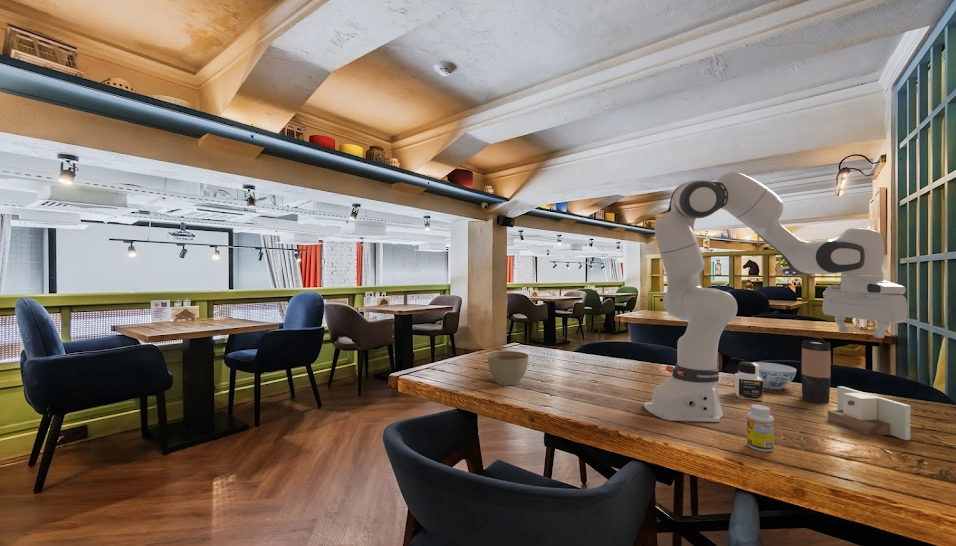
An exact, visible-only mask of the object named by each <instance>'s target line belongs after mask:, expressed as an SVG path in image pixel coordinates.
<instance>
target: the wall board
mask: <svg viewBox="0 0 956 546" xmlns="http://www.w3.org/2000/svg"><path fill="white" fill-rule="evenodd" d="M836 388H837V389H836V390H837V391H836V392H837V393H836V394H837V395H836V396H837V400H836V405H837V406H836V410H843V393H861V394H865V395H868V396H872V397H875V398H877V419H878V420H881V421H884V422H887V423H890V435H889V436H892V437H896V438H898V439H900V440H904V441H911V417H912V416H911V414H912V413H911V408H912V406H911V405H909V404H906V403H902V402H899V401H895V400H891V399H888V398H884V397H881V396H879V395H878V396H877V395H874V394H871V393H867V392H863V391H860V390H856V389H853V388H850V387H846V386H842V385H841V386H839V385H838V386H837V387H836Z"/></svg>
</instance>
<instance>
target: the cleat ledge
mask: <svg viewBox="0 0 956 546" xmlns="http://www.w3.org/2000/svg"><path fill="white" fill-rule="evenodd" d="M827 421H828V422H830V423H833V424H835V425H837V426H840V427H844V428H847V429H848V430H851V431H854V432H856V433H860V434H861V435H865V436H867V437H869V436H870V435H871V436H872V437H873V435H875V436H891V435H890V423H887V422H884V421H881V420H878V419H877V420H859V419H856V418H853V417H850V416H847V415H845V414H843V410H837V409H834V410H833V409H832V410H827Z"/></svg>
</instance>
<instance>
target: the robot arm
mask: <svg viewBox="0 0 956 546" xmlns="http://www.w3.org/2000/svg"><path fill="white" fill-rule="evenodd" d="M668 205H669V206H668V209H667V212H666V213H663V214H660V216H659V217H657V219H656V220H655V222H654V235H655V241H656V245H657V248H658V252H659V254H660V258H661V260H662V264H663V267H664V271H665V274H666V281H667V282H666V283H667V284H666V285H667V290H666V292H665V294H664V296H663V299H662V306H663V308H664V310H665V312H667V313H668V315H671V316H672V317H674V318H676V319H679V320H683V321H688V323H687V327H686V330H685V332H684V334H682V336H680V337H679V338H678V340H677V346H676V347H677V353H676V354H677V357H676V358H677V359H676V360H677V363H676V364H675V366H672V365H669V364H666V366H665V367H664V369H665V371H666V372H669V373H671V376H670V377H669V378H668V379H666V380H665V381H663V382H662V383H661V384H659V385H658V386H656V387H655V388H654V389H653V392H652V397H651V401H647V402H644V405H643V406H644V408H645V410H646V411H647V412H648V413H650V414H652V415H654V416H656V417H657V418H660V419H663V420H667V421H674V422H675V421H677V422H678V421H679V422H703V423H704V422H709V423H720V421H721V418H722V417H723V415H724V414H723V410H722V407H721V401H720V396H719V386H718V384H719V380H720V378H719V377H720V376H719V375H720V373H719V371H720V370H719V368H718V353H719V352H718V350H719V342H720V339H721V338H720V337H721V335H722V333H723V331H724V330H725V327H726V326H727V325H729V323H731V322H732V321H733V320H734V319H735V317H736V316H737V313H738V303H737V300H736V298H735V297H734V296H733V295H732V294H731V293H730V292H727V291H724V290H721V289H718V288H715V287H713V288H712V287H703V286H702V285H701V282H700V275H701V272H702V271H704V269H705V265H706V264H705V260H704V257H703V254H702V251H701V247H700V244H699V242H698V239H697V236H696V234H695V228H694V227H695V221H696V220H697V219H704V218H706V217H709V216H711V215H713V214H714V213H716V212H718V211H719V210H725V211H726V212H728V213H729V214H730V215H732V216H733V217H734V218H735V219H737V220H739V221H740V222H741V223H742V224H744V225H745V226H747V227H748V228H750V229H751V230H752V231H753V232H754V233H755V234H756V235H757V236H759V237H760V238H761V239H762V240H763V241H764V242H766V243H767V244H768V246H770V247H771V248H772V249H774V250H775V251H776V252H777V253H778V254H779V255H781V256H782V258H783V259H784V261H785V263H786V265H787V267H788V268H789V269H790V270H791V271H792V272H794V273H795V274H798V275H802V276H808V275H809V276H810V275H833V274H834V275H835V274H840V285H839V284H838V285H837V284H836V285H835V284H831V285H829V286H827V287H826V288H825V292H824V296H823V299H822V308H821V311H822V313H823V315H825V316H832V317H834V321H835V323H836V326H838V332H839V333H843V334H844V333H846V334H847V333H850V326H848V325H846V323H845V321H846V318H850V319H859V320H868V321H874V322H875V321H876V323H877V325H878V328H877V329H876V330H873V331H872V336H873V338H878V339H884V338H885V336H886V335H885V332H886V331H887V330H888V329H889V327H890V326H891V323H897V324H899V323H905V322H906V320H907V319H908V301H907V298H906V297H905V296H904V294H905V293H906V291H907V290H906V287H905V286H903V285H901V284H898V283H896V282H891V281H889V280H885V279H884V277H885V276H884V271H883V264H884V261H885V244H884V239H883V236H882V234H881V233H880V231H877V230H875V229H871V228H864V227H863V228H861V227H856V228H855V227H854V228H853V227H852V228H848V229H846V230H844V231H843V232H842V233H840V234H838V235H836V236H834V237H830V238H827V239H825V240H820V241H806V240H803V239H800V238H798V237H797V236H796V235H794V234H793V233H792V232H791V231H789V230H788V229H787V228H786V227H785V226H783V225H782V223H781V222H780V220H779V219H780V218H781V216H783V211H784V203H783V201H782V200H781V198H780V197H779V196H778V195H777V194H776V193H775V192H774V191H773V190H771V189H770V188H768V187H767V186H765V185H764V184H762V183H761V182H759V181H757V180H756V179H754V178H752V177H751V176H748V175H746V174H743V173H742V172H739V171H729V172H727V173H724V174H723V175H721V176H720V177H719V178H718V179H717V180H716V181H709V180H691V181H687V182H685V183H682V184H680V185H678V186H677V187H676V188H675V189H674V191H673V192H672V194H671V196H670V201H669V204H668Z"/></svg>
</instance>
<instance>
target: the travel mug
mask: <svg viewBox="0 0 956 546" xmlns="http://www.w3.org/2000/svg"><path fill="white" fill-rule="evenodd" d="M830 393H831V342H830V341H829V342H828V341H824V340H823V341H822V340H814V339H813V340H812V339H806V340H802V341H801V398H802V400H804V401H807V402H811V403H815V404H829V403H830V395H831V394H830Z"/></svg>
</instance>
